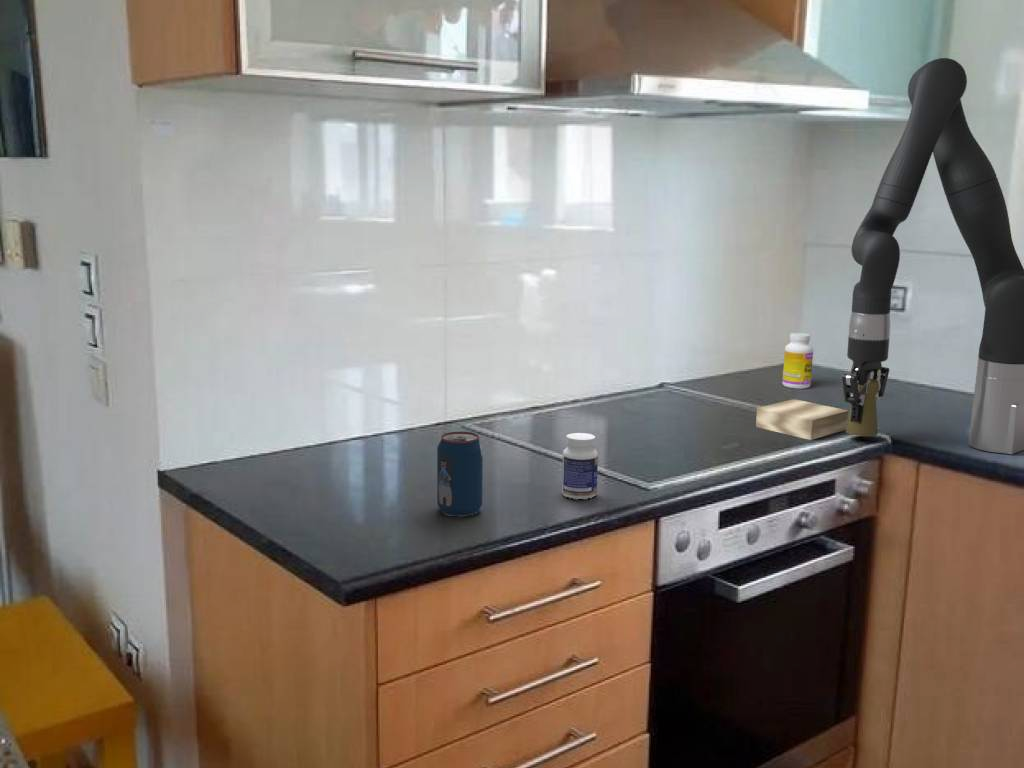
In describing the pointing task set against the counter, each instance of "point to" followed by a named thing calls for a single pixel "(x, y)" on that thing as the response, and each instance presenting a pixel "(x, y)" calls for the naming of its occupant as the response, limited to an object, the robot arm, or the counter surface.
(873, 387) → the cork
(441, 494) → the soda can
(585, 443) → the pill bottle
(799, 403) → the block
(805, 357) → the supplement bottle
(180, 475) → the counter surface
